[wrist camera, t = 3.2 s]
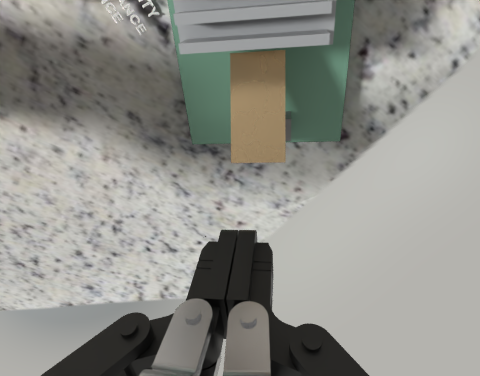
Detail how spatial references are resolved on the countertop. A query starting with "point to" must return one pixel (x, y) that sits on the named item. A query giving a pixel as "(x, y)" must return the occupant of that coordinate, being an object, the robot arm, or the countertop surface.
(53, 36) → the countertop surface
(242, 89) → the strap
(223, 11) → the board
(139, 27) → the wide band ring
